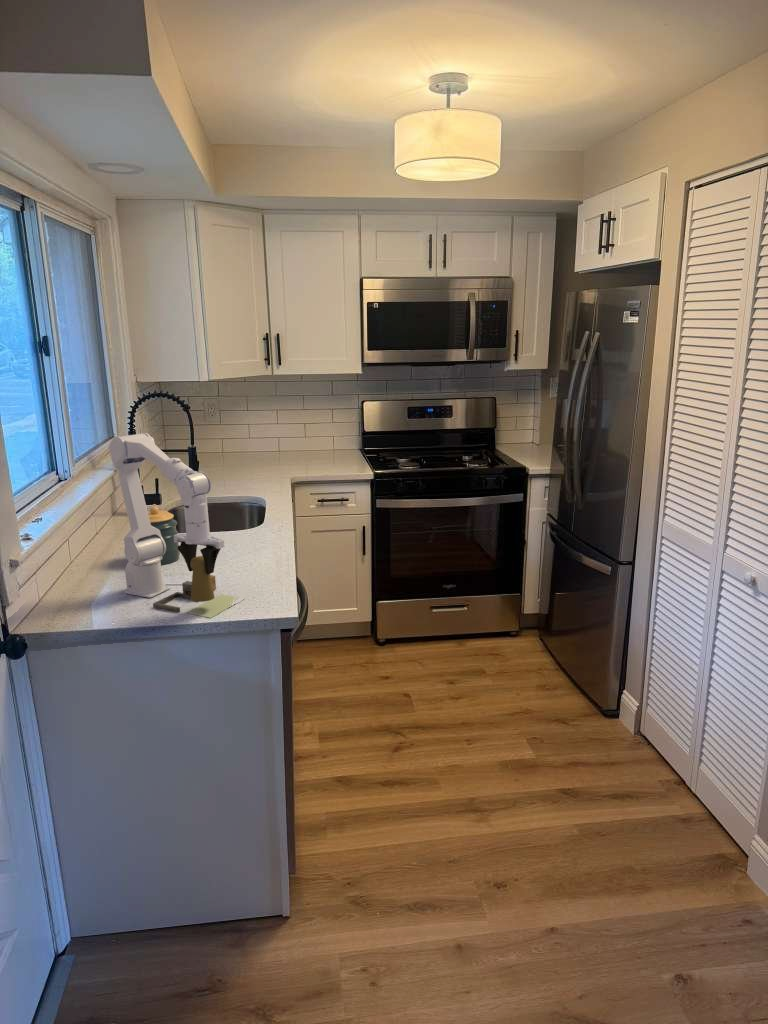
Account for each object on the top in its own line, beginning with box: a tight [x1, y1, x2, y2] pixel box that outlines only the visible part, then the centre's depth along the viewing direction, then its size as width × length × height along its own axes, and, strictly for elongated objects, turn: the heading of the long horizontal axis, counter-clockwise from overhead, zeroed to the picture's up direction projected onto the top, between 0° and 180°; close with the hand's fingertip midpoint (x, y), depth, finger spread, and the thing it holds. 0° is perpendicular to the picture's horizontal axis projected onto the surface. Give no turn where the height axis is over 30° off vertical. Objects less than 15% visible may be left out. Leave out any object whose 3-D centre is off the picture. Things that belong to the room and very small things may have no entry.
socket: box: [152, 580, 192, 614], centre depth 183 cm, size 8×15×4 cm, turn 155°
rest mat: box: [186, 594, 239, 619], centre depth 179 cm, size 8×14×1 cm, turn 155°
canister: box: [138, 505, 181, 566], centre depth 215 cm, size 13×13×18 cm
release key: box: [187, 574, 217, 594], centre depth 188 cm, size 4×8×4 cm, turn 155°
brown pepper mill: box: [190, 555, 215, 603], centre depth 175 cm, size 6×6×11 cm
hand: (201, 571), depth 174 cm, fingers closed on brown pepper mill, 5 cm apart
